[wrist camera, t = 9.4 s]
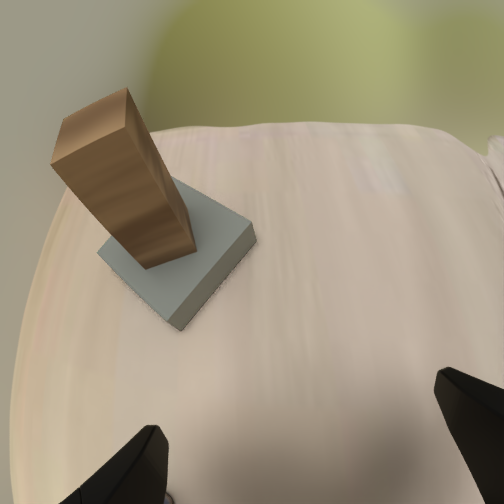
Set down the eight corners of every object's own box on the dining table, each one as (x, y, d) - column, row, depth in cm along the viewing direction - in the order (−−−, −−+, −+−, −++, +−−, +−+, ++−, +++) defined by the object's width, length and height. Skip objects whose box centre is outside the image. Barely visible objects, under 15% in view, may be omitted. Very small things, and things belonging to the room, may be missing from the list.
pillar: (197, 251, 24) (124, 127, 13) (145, 269, 23) (50, 164, 13) (187, 208, 26) (127, 87, 15) (140, 225, 26) (63, 119, 15)
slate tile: (180, 331, 24) (166, 321, 21) (112, 266, 28) (96, 252, 25) (256, 240, 27) (251, 221, 24) (179, 194, 31) (169, 175, 28)
